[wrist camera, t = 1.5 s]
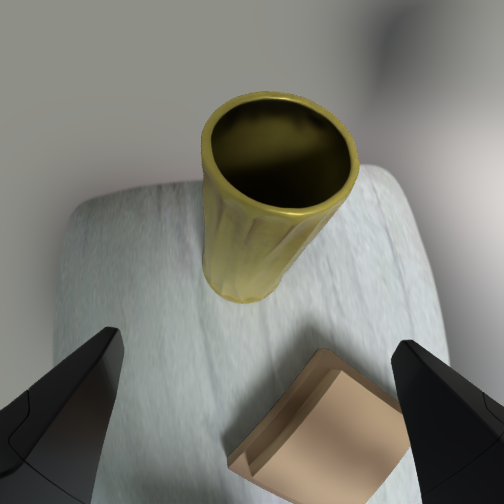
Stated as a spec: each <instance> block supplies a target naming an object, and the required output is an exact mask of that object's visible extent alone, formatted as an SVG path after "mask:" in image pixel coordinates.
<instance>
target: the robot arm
mask: <svg viewBox="0 0 504 504" xmlns="http://www.w3.org/2000/svg"><path fill="white" fill-rule="evenodd" d="M123 357H124V345H123V340H122V336H121V332H120V330H119V329H118V328H115V327H105V328H104V329H102V330H101V331H100V332H98V333H97V334H96V335H95V336H93V337H92V338H91V339H89V340H88V341H87V342H86V343H84V344H83V345H82V346H81V347H79V348H78V349H77V350H75V351H74V352H73V353H72V354H70V355H69V356H68V357H67V358H65V359H64V360H63V361H62V362H60V363H59V364H58V365H57V366H55V367H54V368H53V369H52V370H50V371H49V372H48V373H47V374H45V375H44V376H43V377H42V378H41V379H40V380H38V381H37V382H36V383H34V385H32V386H31V387H30V388H29V390H26V391H25V392H23V393H22V394H21V395H20V396H19V397H17V398H16V399H15V400H14V401H12V402H11V403H10V404H9V405H7V406H6V407H4V408H3V409H2V410H0V504H90V503H91V498H92V493H93V488H94V483H95V478H96V473H97V469H98V464H99V460H100V456H101V451H102V447H103V443H104V439H105V435H106V431H107V428H108V424H109V420H110V417H111V413H112V410H113V406H114V403H115V399H116V395H117V389H118V383H119V378H120V372H121V367H122V362H123ZM391 365H392V370H393V375H394V380H395V385H396V390H397V395H398V400H399V404H400V407H401V411H402V414H403V418H404V422H405V425H406V429H407V433H408V437H409V441H410V445H411V449H412V454H413V458H414V462H415V467H416V472H417V476H418V481H419V487H420V492H421V498H422V504H504V407H503V406H502V405H500V404H499V403H497V402H496V401H494V400H493V399H492V398H490V397H489V396H488V395H487V394H485V393H484V392H482V391H481V390H480V389H479V388H477V387H476V386H474V385H473V384H472V383H471V382H469V381H468V380H467V379H465V378H464V377H463V376H461V375H460V374H459V373H457V372H456V371H454V370H453V369H452V368H450V367H449V366H448V365H446V364H445V363H444V362H442V361H441V360H440V359H438V358H437V357H435V356H434V355H433V354H431V353H430V352H429V351H427V350H426V349H424V348H423V347H422V346H420V345H419V344H418V343H416V342H415V341H413V340H402V341H401V342H400V343H399V345H398V346H397V348H396V350H395V352H394V354H393V355H392V358H391Z"/></svg>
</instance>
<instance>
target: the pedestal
mask: <svg viewBox="0 0 504 504" xmlns="http://www.w3.org/2000/svg"><path fill="white" fill-rule="evenodd" d="M410 446H411V445H410V441H409V437H408V433H407V429H406V425H405V422H404V418H403V414H402V411H401V407H400V404H399V402H397V401H396V400H395V399H393V398H392V397H391V396H389V395H388V394H387V393H385V392H384V391H383V390H381V389H380V388H379V387H377V386H376V385H375V384H373V383H372V382H371V381H369V380H368V379H367V378H365V377H364V376H363V375H361V374H360V373H359V372H357V371H356V370H355V369H353V368H352V367H351V366H349V365H348V364H347V363H345V362H344V361H343V360H342V359H340V358H339V357H338V356H336V355H335V354H334V353H332V352H331V351H330V350H329V349H318V350H317V351H316V353H315V354H314V355H313V357H312V358H311V359H310V361H309V362H308V363H307V365H306V366H305V367H304V369H303V370H302V371H301V373H300V374H299V375H298V377H297V378H296V379H295V380H294V382H293V383H292V384H291V385H290V387H289V388H288V389H287V390H286V392H285V393H284V394H283V395H282V397H281V398H280V399H279V400H278V402H277V403H276V404H275V405H274V406H273V408H272V409H271V410H270V411H269V412H268V413H267V415H266V416H265V417H264V418H263V419H262V420H261V422H260V423H259V424H258V425H257V426H256V427H255V428H254V429H253V431H252V432H251V433H250V434H249V435H248V436H247V437H246V438H245V439H244V440H243V442H242V443H241V444H240V445H239V446H238V447H237V448H236V449H235V450H234V451H233V452H232V453H231V454H230V455H229V456H228V457H227V465H228V469H230V470H231V471H233V472H235V473H236V474H238V475H240V476H241V477H243V478H245V479H247V480H248V481H250V482H252V483H254V484H256V485H257V486H259V487H261V488H263V489H265V490H267V491H269V492H271V493H273V494H275V495H277V496H279V497H281V498H283V499H285V500H287V501H289V502H291V503H293V504H365V503H366V502H367V501H368V500H369V499H370V498H371V496H372V495H373V494H374V493H375V492H376V491H377V489H378V488H379V487H380V486H381V485H382V483H383V482H384V481H385V480H386V478H387V477H388V476H389V475H390V473H391V472H392V471H393V469H394V468H395V467H396V465H397V464H398V463H399V461H400V460H401V459H402V457H403V456H404V454H405V453H406V452H407V450H408V449H409V447H410Z"/></svg>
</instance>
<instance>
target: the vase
mask: <svg viewBox="0 0 504 504" xmlns="http://www.w3.org/2000/svg"><path fill="white" fill-rule="evenodd" d="M201 156H202V168H203V172H204V179H203V209H204V221H205V251H204V254H203V272H204V275H205V278H206V280H207V282H208V284H209V285H210V287H211V288H212V289H213V290H214V291H215V292H216V293H217V294H218V295H219V296H221V297H223V298H224V299H226V300H229V301H232V302H235V303H253V302H256V301H260V300H262V299H264V298H265V297H267V296H268V295H269V294H270V293H272V292H273V291H274V290H275V289H276V287H277V286H278V285H279V283H280V280H281V278H282V276H283V275H284V274H285V273H286V272H287V271H288V269H289V268H290V267H291V266H292V265H293V263H294V262H295V261H296V260H297V258H298V257H299V256H300V254H301V253H302V252H303V250H304V249H305V247H306V246H307V245H308V244H309V243H310V242H311V241H312V240H313V239H314V238H315V237H316V235H317V234H318V233H319V232H320V231H321V229H322V228H323V227H324V226H325V225H326V223H327V222H328V221H329V220H330V219H331V217H332V216H333V215H334V214H335V212H336V211H337V210H338V209H339V207H340V206H341V205H342V204H343V203H344V201H345V200H346V199H347V197H348V196H349V194H350V193H351V190H352V188H353V186H354V184H355V181H356V179H357V176H358V173H359V158H358V154H357V149H356V145H355V143H354V140H353V137H352V136H351V134H350V133H349V131H348V130H347V128H346V127H345V126H344V125H343V124H342V122H341V121H340V120H339V119H338V118H337V117H336V116H334V115H333V114H332V113H331V112H329V111H328V110H326V109H325V108H323V107H322V106H320V105H318V104H316V103H314V102H312V101H310V100H308V99H306V98H303V97H300V96H297V95H293V94H288V93H280V92H268V91H263V92H254V93H249V94H245V95H242V96H238V97H236V98H234V99H231V100H229V101H228V102H226V103H225V104H223V105H222V106H221V107H219V108H218V109H217V110H216V111H215V112H214V113H213V114H212V115H211V117H210V118H209V120H208V121H207V123H206V124H205V126H204V129H203V131H202V137H201Z"/></svg>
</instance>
